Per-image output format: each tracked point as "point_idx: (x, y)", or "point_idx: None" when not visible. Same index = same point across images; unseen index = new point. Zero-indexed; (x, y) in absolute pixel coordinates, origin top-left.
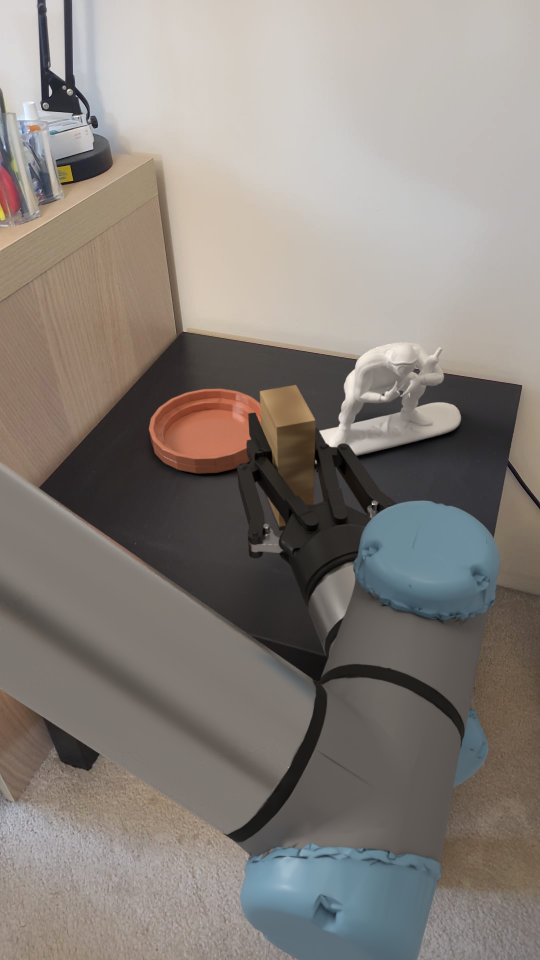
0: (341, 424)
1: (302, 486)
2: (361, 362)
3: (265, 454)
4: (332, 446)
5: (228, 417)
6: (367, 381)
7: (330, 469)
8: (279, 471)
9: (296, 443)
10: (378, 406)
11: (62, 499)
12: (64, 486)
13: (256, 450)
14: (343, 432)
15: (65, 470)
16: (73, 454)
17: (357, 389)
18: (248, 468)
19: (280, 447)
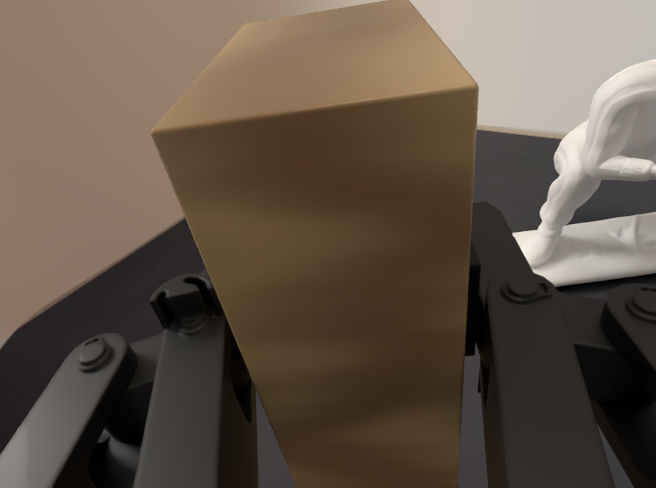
0: (544, 225)
1: (401, 462)
2: (611, 88)
3: (216, 303)
4: None
5: None
6: (621, 131)
7: (575, 485)
8: (268, 400)
9: (338, 267)
10: (607, 202)
11: (95, 307)
12: (111, 287)
13: (175, 280)
14: (547, 239)
15: (127, 264)
16: (150, 243)
17: (593, 150)
18: (104, 371)
19: (233, 284)
